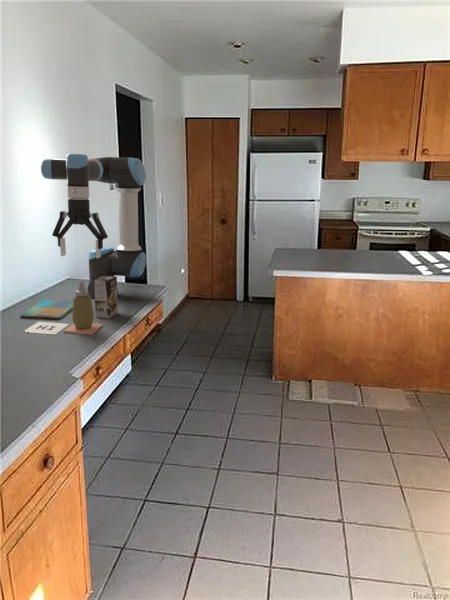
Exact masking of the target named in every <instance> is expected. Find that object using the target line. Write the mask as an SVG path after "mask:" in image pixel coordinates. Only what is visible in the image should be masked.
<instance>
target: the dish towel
mask: <svg viewBox="0 0 450 600" xmlns="http://www.w3.org/2000/svg"><path fill="white" fill-rule="evenodd" d="M72 312H73V300H68V301H67V300H65V301H64V300H62V301H60V300H58V301H55V300H53V301H52V300H48V299H42V300H39V302H38V303H37V304H35V305H34V306H32V307H30V308H29V309H28V310H26V311H25V312H23V313H21V314H20V315H19V317H20V319H23V318H25V320H43V321H44V320H49V321H51V320H52V321H61V320H62V319H64V318H65V317H66V316H67V315H68V314H69V313H72Z"/></svg>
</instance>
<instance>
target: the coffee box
mask: <svg viewBox="0 0 450 600" xmlns="http://www.w3.org/2000/svg"><path fill="white" fill-rule="evenodd" d="M117 278H118V276H116V275H114V276H102V277H100V278H97V279H95V280H94V281H95V299H94V311H95V312H94V318H101V319H110V318H112V317H114V316H115V315H116V314H118V296H117V288H118V279H117Z"/></svg>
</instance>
